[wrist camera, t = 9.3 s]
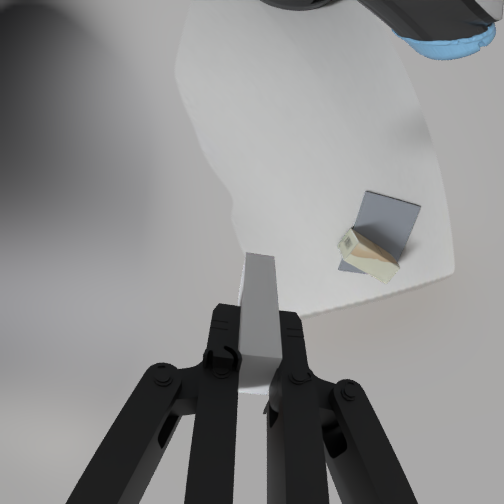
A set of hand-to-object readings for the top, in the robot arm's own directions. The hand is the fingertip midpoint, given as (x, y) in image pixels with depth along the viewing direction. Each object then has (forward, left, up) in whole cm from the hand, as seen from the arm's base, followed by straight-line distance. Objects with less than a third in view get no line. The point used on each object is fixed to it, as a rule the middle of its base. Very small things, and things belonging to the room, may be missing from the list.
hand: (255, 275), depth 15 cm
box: (+11, +17, -27) cm, 34 cm away
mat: (+10, +25, -30) cm, 41 cm away
